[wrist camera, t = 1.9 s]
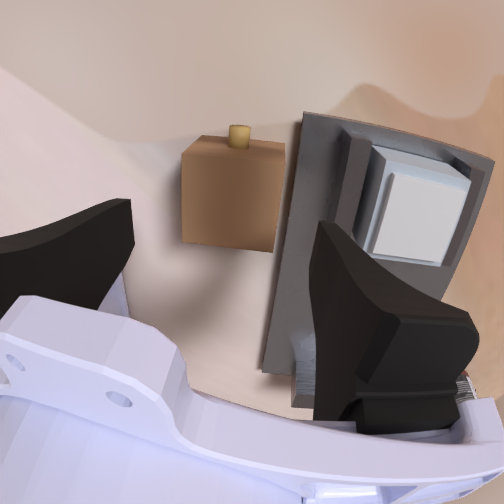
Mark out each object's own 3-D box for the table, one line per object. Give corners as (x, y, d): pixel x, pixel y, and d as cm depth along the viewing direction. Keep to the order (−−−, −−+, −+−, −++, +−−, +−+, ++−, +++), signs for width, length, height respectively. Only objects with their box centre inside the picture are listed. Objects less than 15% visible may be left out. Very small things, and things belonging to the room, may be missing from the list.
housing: (200, 208, 19) (181, 241, 16) (203, 117, 16) (182, 131, 13) (274, 216, 19) (273, 253, 16) (286, 125, 16) (288, 141, 13)
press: (262, 365, 26) (258, 404, 23) (303, 111, 16) (309, 123, 12) (392, 372, 26) (401, 408, 23) (488, 157, 15) (525, 181, 12)
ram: (351, 229, 18) (362, 260, 15) (370, 144, 15) (389, 162, 12) (423, 240, 18) (442, 271, 15) (447, 163, 15) (475, 184, 12)
